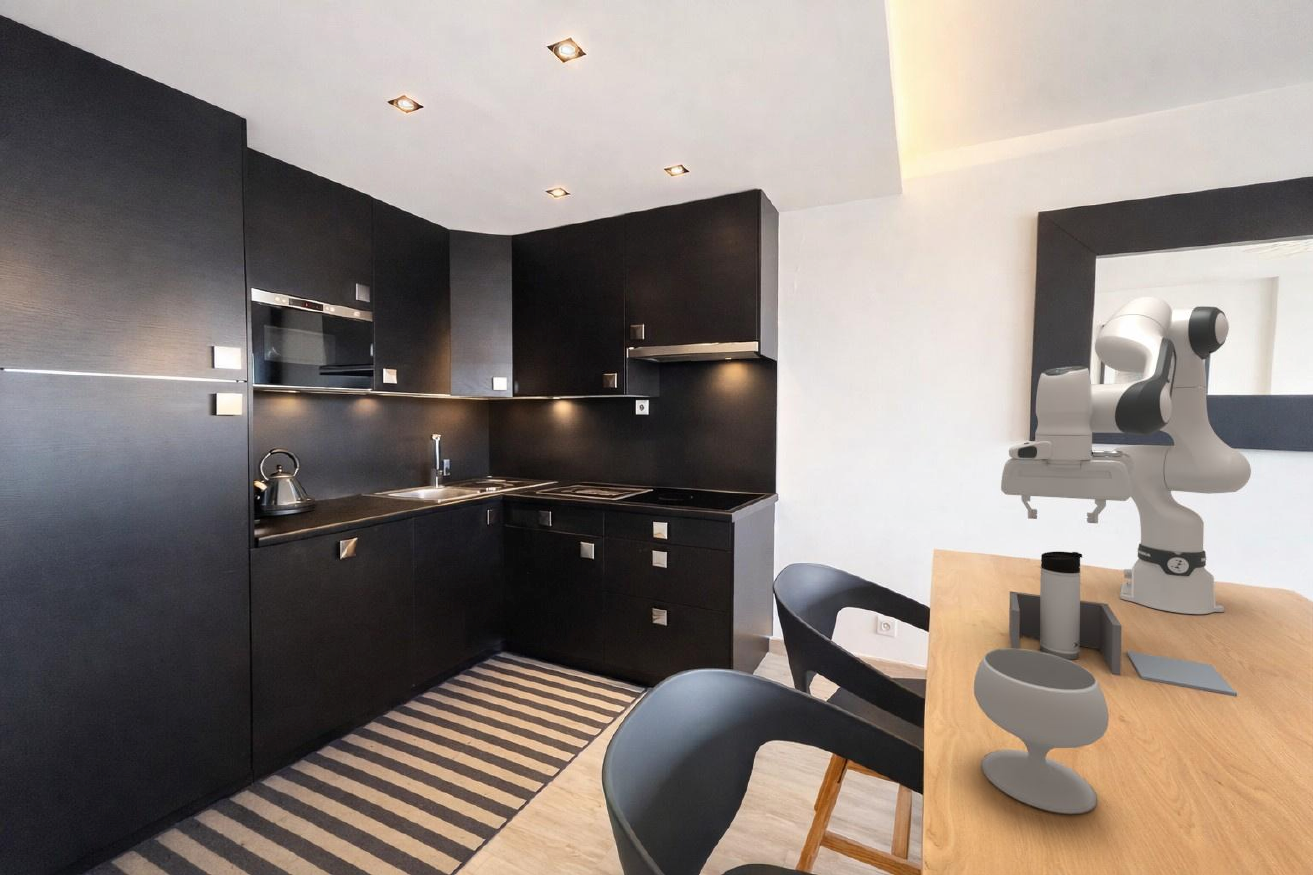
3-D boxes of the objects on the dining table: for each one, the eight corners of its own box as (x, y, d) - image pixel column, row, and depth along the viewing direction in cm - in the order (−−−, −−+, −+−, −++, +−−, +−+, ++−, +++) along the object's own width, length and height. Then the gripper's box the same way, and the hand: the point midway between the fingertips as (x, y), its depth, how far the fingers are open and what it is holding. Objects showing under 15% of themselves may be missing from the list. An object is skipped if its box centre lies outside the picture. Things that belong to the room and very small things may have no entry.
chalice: (949, 765, 73) (950, 655, 72) (1016, 739, 79) (1017, 637, 78) (1062, 838, 60) (1064, 706, 60) (1132, 800, 66) (1134, 679, 65)
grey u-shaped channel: (1009, 632, 117) (1009, 591, 117) (1106, 648, 109) (1107, 603, 108) (1011, 655, 106) (1012, 610, 105) (1120, 675, 97) (1121, 625, 97)
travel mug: (1088, 661, 103) (1089, 557, 102) (1049, 658, 104) (1050, 555, 104) (1070, 647, 109) (1071, 549, 108) (1033, 645, 110) (1034, 548, 110)
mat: (1126, 653, 106) (1126, 650, 106) (1211, 667, 100) (1211, 664, 100) (1141, 678, 96) (1141, 676, 96) (1236, 696, 90) (1236, 693, 90)
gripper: (1128, 450, 103) (1127, 522, 103) (1001, 448, 113) (1000, 513, 114) (1136, 452, 97) (1135, 528, 98) (1001, 449, 108) (1001, 518, 108)
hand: (1061, 520), depth 106 cm, fingers open, 8 cm apart
